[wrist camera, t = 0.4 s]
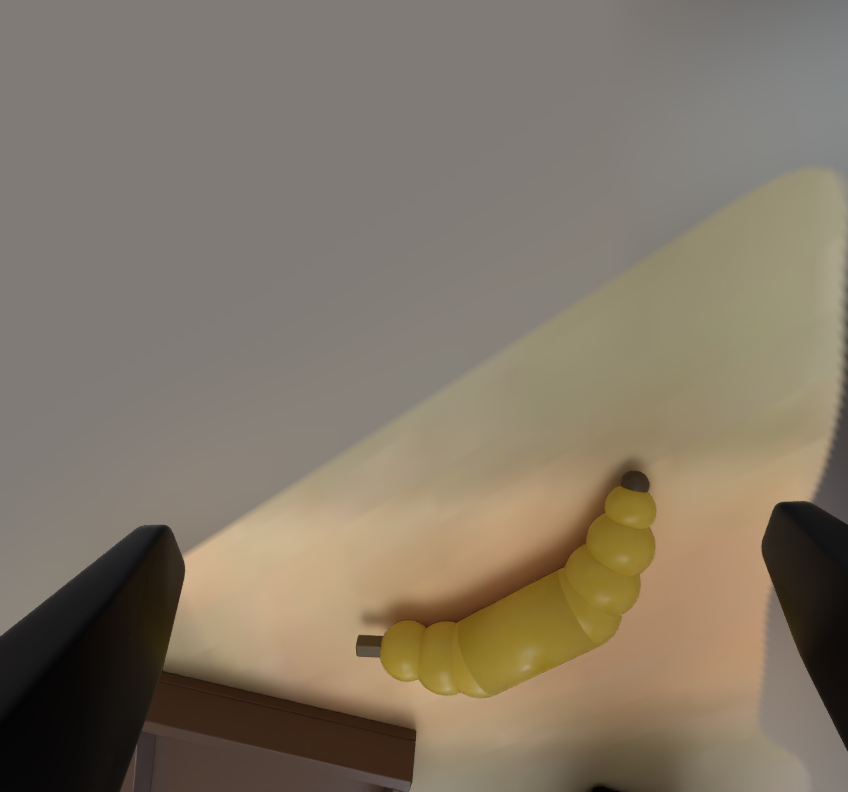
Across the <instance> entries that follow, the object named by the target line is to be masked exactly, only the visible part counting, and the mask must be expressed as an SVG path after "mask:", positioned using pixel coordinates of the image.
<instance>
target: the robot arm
mask: <svg viewBox="0 0 848 792" xmlns="http://www.w3.org/2000/svg"><path fill="white" fill-rule="evenodd" d="M762 555H763V558H764V561H765V564H766V567H767V569H768V572H769V575H770V577H771V580H772V583H773V585H774V588H775V591H776V593H777V596H778V599H779V601H780V604H781V607H782V609H783V612H784V615H785V617H786V620H787V623H788V625H789V628H790V631H791V634H792V636H793V639H794V641H795V644H796V646H797V649H798V651H799V654H800V656H801V658H802V660H803V662H804V664H805V667H806V668H807V671H808V673H809V675H810V677H811V679H812V681H813V683H814V685H815V687H816V689H817V691H818V693H819V695H820V697H821V699H822V701H823V703H824V705H825V707H826V709H827V711H828V713H829V715H830V717H831V719H832V721H833V723H834V725H835V727H836V729H837V731H838V733H839V735H840V737H841V739H842V741H843V743H844V745H845V747H846V749H847V751H848V525H847V524H846V523H844V522H842V521H841V520H839V519H837V518H836V517H834V516H832V515H831V514H829V513H827V512H826V511H824V510H822V509H821V508H819V507H818V506H816V505H814V504H812V503H810V502H806V501H793V502H780V503H778V504H777V505H776V506H775V507H774V509H773V511H772V514H771V517H770V520H769V523H768V526H767V528H766V531H765V534H764V537H763V540H762ZM184 577H185V564H184V560H183V557H182V555H181V552H180V549H179V547H178V544H177V542H176V539H175V537H174V534H173V532H172V530H171V529H170V527H168V526H167V525H144V526H140V527H138V528H137V529H135V530H134V531H133V532H131V533H130V534H129V535H127V536H126V537H125V538H124V539H123V540H121V541H120V542H119V543H117V544H116V545H115V546H114V547H112V548H111V549H110V550H109V551H107V552H106V553H105V554H103V555H102V556H101V557H100V558H98V559H97V560H96V561H95V562H93V563H92V564H91V565H90V566H88V567H87V568H86V569H85V570H84V571H82V572H81V573H80V574H78V575H77V576H76V577H75V578H73V579H72V580H71V581H69V582H68V583H67V584H66V585H65V586H63V587H62V588H61V589H59V590H58V591H57V592H56V593H54V594H53V595H52V596H51V597H49V598H48V599H47V600H46V601H44V602H43V603H42V604H41V605H39V606H38V607H37V608H35V610H33V611H32V612H30V613H29V614H28V615H27V616H25V617H24V618H23V619H22V620H20V621H19V622H18V623H17V624H15V625H14V626H13V627H12V628H10V629H9V630H8V631H7V632H5V633H4V634H3V635H2V636H0V792H120V791H121V788H122V785H123V782H124V780H125V777H126V774H127V771H128V768H129V765H130V763H131V760H132V757H133V754H134V751H135V748H136V745H137V743H138V740H139V737H140V734H141V731H142V728H143V726H144V723H145V720H146V717H147V714H148V711H149V708H150V706H151V703H152V700H153V697H154V694H155V691H156V688H157V685H158V682H159V679H160V676H161V673H162V669H163V665H164V662H165V658H166V654H167V649H168V645H169V641H170V637H171V632H172V628H173V624H174V620H175V615H176V611H177V607H178V603H179V598H180V594H181V590H182V586H183V581H184ZM590 792H616V791H614V790H611V789H608V788H606V787H602V786H601V787H595V788H593V789H592V790H591V791H590Z"/></svg>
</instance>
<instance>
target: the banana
mask: <svg viewBox="0 0 848 792" xmlns="http://www.w3.org/2000/svg"><path fill="white" fill-rule="evenodd" d="M648 490H649V480H648V478H647V476H646V475H645V474H643V473H642V472H640V471H629V472H627V473H626V474H625V475H624V476H623V477H622V479H621V485H620V486H618V487H616V488H614V489H613V490H612V491H611V492H610V493H609V494H608V496H607V498H606V500H605V506H604V509H605V513H604V514H602V515H600V516H599V517H597V518H596V519H595V520H594V521H593V523H592V524H591V526H590V528H589V530H588V533H587V539H586V544H584V545H582V546H580V547H579V548H578V549H576V550H575V551H574V552H573V553H572V554H571V555H570V557H569V559H568V560H567V562H566V565H565V567H563V568H561V569H558V570H557V571H555V572H553V573H551V574H549V575H547V576H545V577H543V578H541V579H539V580H537V581H535V582H533V583H532V584H530V585H528V586H526V587H524V588H522V589H520V590H518V591H516V592H514V593H512V594H510V595H508V596H507V597H505V598H503V599H501V600H499V601H497V602H495V603H493V604H491V605H489V606H487V607H485V608H483V609H481V610H480V611H478V612H476V613H474V614H472V615H470V616H468V617H466V618H464V619H462V620H461V621H459V622H458V623H454V622H449V621H442V622H437V623H434V624H432V625H430V626H428V627H427V628H426V627H425V626H424V625H422V624H420V623H418V622H416V621H411V620H406V621H400V622H398V623H396V624H394V625H392V626H391V627H390V628H389V629H388V630H387V631H386V632H385V634H384V636H372V635H359V636H358V638H357V643H356V655H357V656H359V657H380V659H381V663H382V665H383V667H384V669H385V670H386V671H387V673H388V674H389V675H391V676H392V677H393V678H395V679H397V680H400V681H405V682H410V681H415V680H418V679H419V681H420V682H421V683H422V685H423V686H424V687H425V688H427V689H428V690H430V691H431V692H433V693H436V694H439V695H447V696H448V695H455V694H458V693H460V692H461V693H463V694H465V695H467V696H470V697H474V698H487V697H491V696H494V695H497V694H499V693H501V692H503V691H505V690H507V689H509V688H512V687H514V686H516V685H518V684H520V683H522V682H524V681H526V680H529V679H531V678H533V677H535V676H537V675H539V674H541V673H544V672H546V671H548V670H550V669H552V668H554V667H556V666H558V665H561V664H563V663H565V662H567V661H569V660H571V659H573V658H575V657H578V656H580V655H582V654H584V653H586V652H588V651H590V650H592V649H595V648H597V647H599V646H601V645H603V644H604V643H606V642H607V641H608V640H609V639H610V638H611V637H612V636H613V635H614V634H615V633H616V631H617V629H618V628H619V625H620V622H621V617H622V614H624V613H626V612H627V611H628V610H630V609H631V608H632V606H633V605H634V604H635V602H636V601H637V598H638V596H639V593H640V586H641V580H640V573H642V572H643V571H644V570H645V569H646V568H647V567H648V566H649V565H650V563H651V562H652V560H653V557H654V554H655V539H654V535H653V533H652V531H651V529H650V526H651V525H652V523H653V522H654V519H655V517H656V504H655V501H654V499H653V497H652V496H651V494H650V493H649V492H648Z"/></svg>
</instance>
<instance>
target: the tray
mask: <svg viewBox="0 0 848 792" xmlns="http://www.w3.org/2000/svg"><path fill="white" fill-rule="evenodd" d="M415 741H416V731H414V730H410V729H406V728H402V727H397V726H393V725H389V724H384V723H380V722H376V721H371V720H367V719H363V718H359V717H354V716H350V715H346V714H341V713H337V712H333V711H328V710H324V709H320V708H316V707H311V706H307V705H303V704H298V703H294V702H290V701H286V700H281V699H277V698H273V697H268V696H264V695H260V694H255V693H251V692H247V691H243V690H238V689H234V688H230V687H225V686H221V685H217V684H213V683H208V682H204V681H200V680H195V679H191V678H187V677H182V676H178V675H174V674H170V673H165V672H162V673H161V676H160V679H159V682H158V685H157V688H156V691H155V694H154V697H153V700H152V703H151V706H150V708H149V711H148V714H147V717H146V720H145V723H144V726H143V728H142V731H141V734H140V737H139V740H138V743H137V745H136V748H135V751H134V754H133V757H132V760H131V763H130V765H129V768H128V771H127V774H126V777H125V780H124V782H123V785H122V788H121V791H120V792H409V789H410V787H411V784H412V778H413V766H414V754H415Z"/></svg>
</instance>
